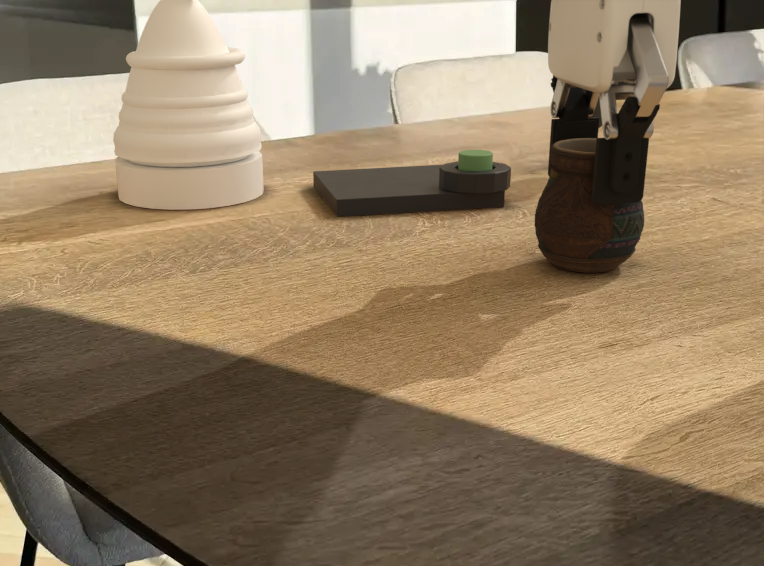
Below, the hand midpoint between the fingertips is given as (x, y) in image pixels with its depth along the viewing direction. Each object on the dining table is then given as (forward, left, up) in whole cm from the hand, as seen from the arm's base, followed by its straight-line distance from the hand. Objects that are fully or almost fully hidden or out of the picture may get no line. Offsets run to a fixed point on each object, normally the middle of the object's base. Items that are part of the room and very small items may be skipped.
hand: (592, 187), depth 73 cm
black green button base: (+7, -24, -5) cm, 26 cm away
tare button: (+2, -20, -3) cm, 20 cm away
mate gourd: (0, 0, -5) cm, 5 cm away
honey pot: (+25, -30, -5) cm, 39 cm away
